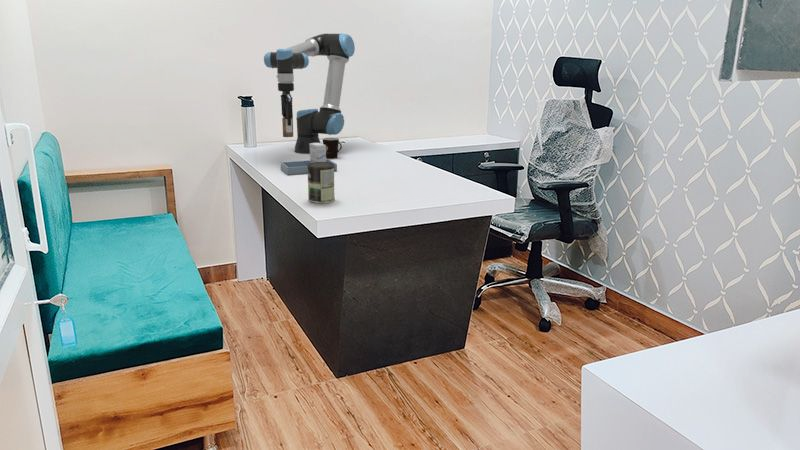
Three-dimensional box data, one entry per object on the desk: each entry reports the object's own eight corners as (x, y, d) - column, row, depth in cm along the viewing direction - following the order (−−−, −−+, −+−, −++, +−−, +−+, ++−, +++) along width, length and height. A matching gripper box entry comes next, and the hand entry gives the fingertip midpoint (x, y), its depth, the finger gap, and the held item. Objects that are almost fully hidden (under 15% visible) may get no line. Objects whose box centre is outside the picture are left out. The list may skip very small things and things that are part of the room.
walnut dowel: (282, 135, 293) (281, 117, 290) (292, 135, 295) (291, 117, 292) (284, 137, 288) (283, 118, 286) (294, 136, 290) (293, 118, 288)
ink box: (327, 169, 283) (326, 144, 279) (317, 170, 280) (316, 145, 276) (319, 166, 290) (318, 142, 286) (309, 167, 287) (308, 143, 283)
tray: (280, 169, 284) (280, 162, 283) (328, 166, 294) (328, 159, 292) (287, 175, 272) (287, 167, 271) (336, 171, 282) (336, 164, 281)
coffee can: (307, 203, 226) (306, 167, 222) (309, 196, 236) (307, 161, 231) (334, 203, 227) (334, 167, 222) (335, 196, 236) (334, 161, 232)
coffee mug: (320, 156, 317) (320, 138, 314) (336, 155, 320) (336, 137, 317) (327, 160, 307) (326, 141, 304) (343, 159, 310) (342, 140, 307)
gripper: (273, 81, 290) (276, 129, 297) (282, 83, 275) (284, 134, 282) (288, 81, 293) (291, 128, 300) (298, 83, 278) (300, 133, 285)
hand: (287, 131), depth 291 cm, fingers closed on walnut dowel, 5 cm apart
